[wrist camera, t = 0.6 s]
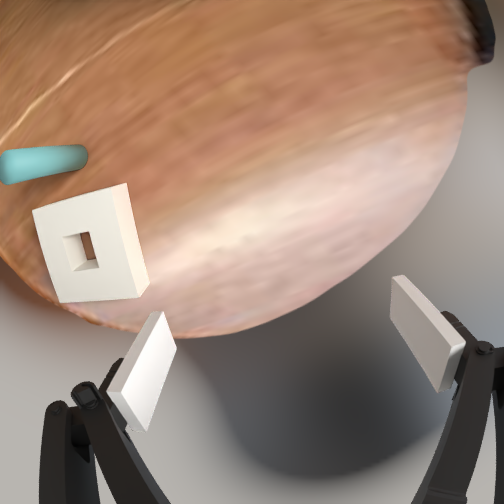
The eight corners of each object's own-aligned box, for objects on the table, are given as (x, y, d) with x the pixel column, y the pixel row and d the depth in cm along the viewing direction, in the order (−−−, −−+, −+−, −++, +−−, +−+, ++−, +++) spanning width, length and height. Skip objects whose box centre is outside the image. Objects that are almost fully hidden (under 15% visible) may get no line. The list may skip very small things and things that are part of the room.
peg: (66, 148, 38) (-4, 156, 22) (85, 141, 37) (15, 145, 22) (70, 172, 39) (0, 188, 24) (89, 166, 39) (19, 179, 23)
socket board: (49, 203, 41) (32, 210, 36) (126, 182, 39) (110, 187, 35) (74, 290, 46) (60, 302, 41) (150, 283, 45) (139, 297, 40)
